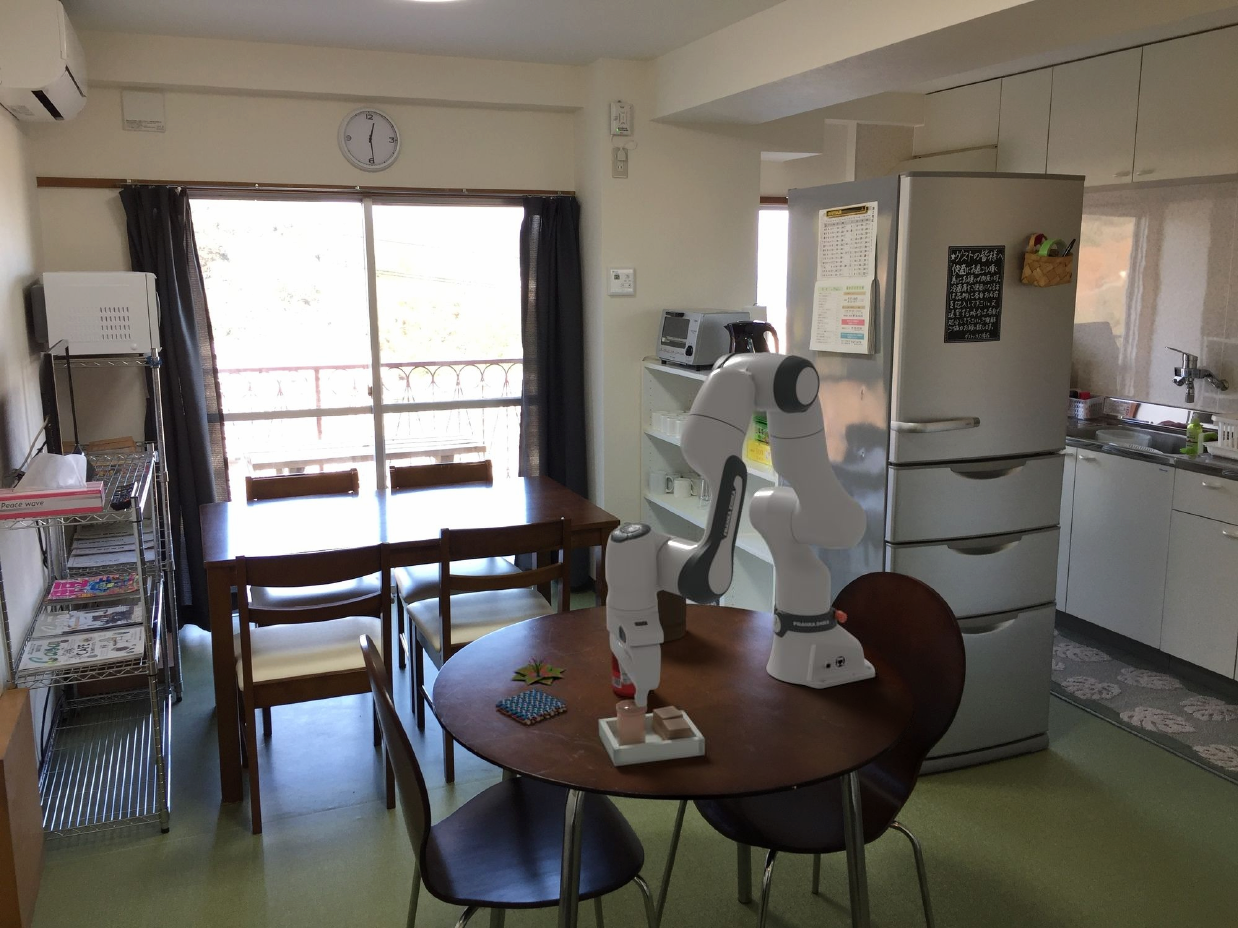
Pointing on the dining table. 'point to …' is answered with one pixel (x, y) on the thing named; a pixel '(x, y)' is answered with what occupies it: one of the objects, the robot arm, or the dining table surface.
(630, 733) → the pink lidded jar
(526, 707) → the woven mat
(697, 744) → the tray
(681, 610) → the wooden container
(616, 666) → the canned food
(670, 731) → the block
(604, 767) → the dining table surface
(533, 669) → the lily flower
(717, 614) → the dining table surface
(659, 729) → the block
